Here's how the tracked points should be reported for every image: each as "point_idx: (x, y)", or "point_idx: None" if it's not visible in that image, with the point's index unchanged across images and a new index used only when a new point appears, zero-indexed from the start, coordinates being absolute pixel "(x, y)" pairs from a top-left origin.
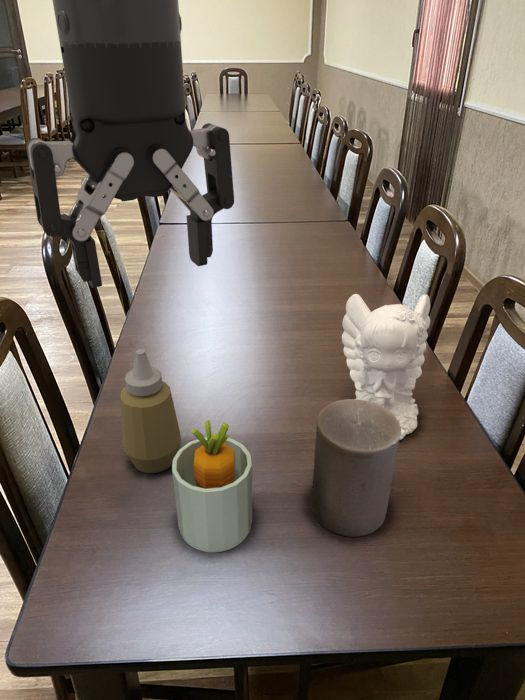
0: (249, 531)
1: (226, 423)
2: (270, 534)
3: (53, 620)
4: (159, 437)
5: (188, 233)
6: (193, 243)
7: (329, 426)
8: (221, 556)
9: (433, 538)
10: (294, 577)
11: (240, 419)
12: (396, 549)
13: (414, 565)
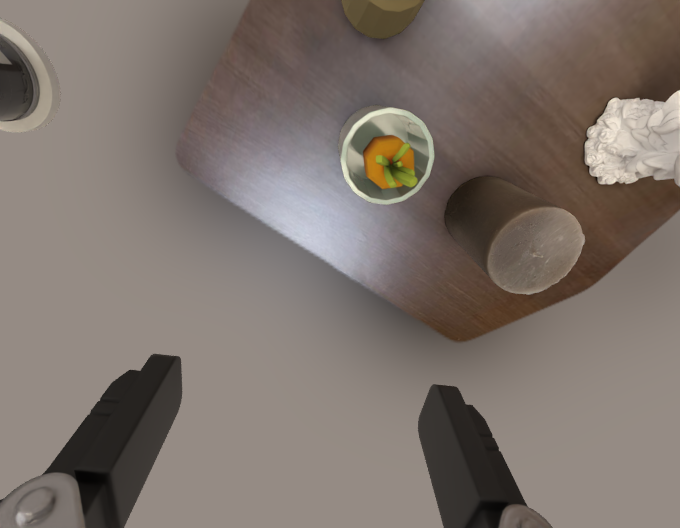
0: None
1: (415, 182)
2: None
3: (207, 146)
4: (379, 28)
5: (456, 446)
6: (440, 450)
7: (508, 238)
8: None
9: None
10: (388, 235)
11: (517, 3)
12: (467, 264)
13: (464, 281)
